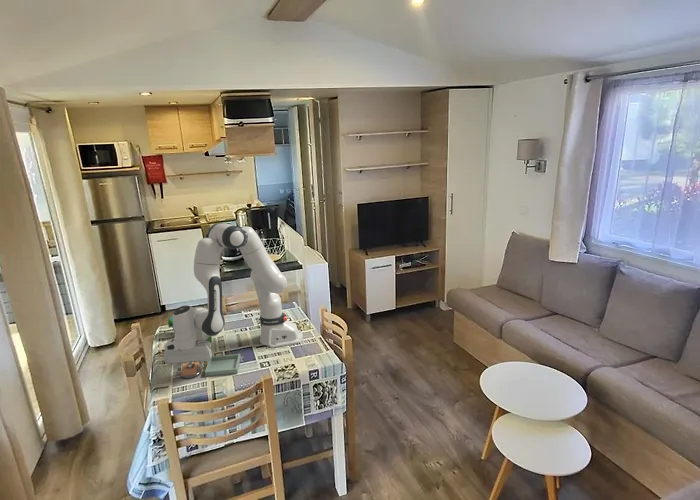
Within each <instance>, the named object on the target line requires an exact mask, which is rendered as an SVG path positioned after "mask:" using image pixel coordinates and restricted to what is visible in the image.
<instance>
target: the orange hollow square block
mask: <svg viewBox="0 0 700 500" xmlns="http://www.w3.org/2000/svg"><path fill="white" fill-rule="evenodd" d="M188 363H189V362H183V366H182V367H181V371H180V373H182V376H188V375H197V373H198V370H199V368H198V366H199V364H200V361H194V362H191V363H192V367H193V368H188Z"/></svg>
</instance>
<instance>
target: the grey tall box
mask: <svg viewBox="0 0 700 500" xmlns="http://www.w3.org/2000/svg"><path fill="white" fill-rule="evenodd" d="M212 337H213V336H209V335H207V334H205V333H204V332H203V331H201V330H197V331H196V338H197V341H204V340H207V341H209V342H210V343H211V344H212V343H213V340H212Z"/></svg>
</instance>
